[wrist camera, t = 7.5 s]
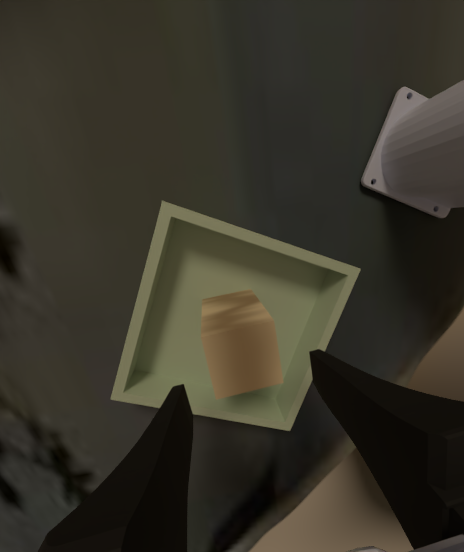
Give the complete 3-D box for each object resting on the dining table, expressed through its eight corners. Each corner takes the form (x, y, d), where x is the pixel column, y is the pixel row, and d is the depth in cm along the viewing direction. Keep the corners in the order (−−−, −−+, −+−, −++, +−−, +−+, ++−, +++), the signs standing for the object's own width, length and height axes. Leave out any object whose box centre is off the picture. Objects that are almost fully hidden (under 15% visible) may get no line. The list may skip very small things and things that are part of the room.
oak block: (250, 288, 20) (274, 320, 14) (258, 333, 21) (283, 382, 15) (202, 299, 20) (200, 337, 13) (212, 343, 21) (216, 399, 14)
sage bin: (336, 262, 21) (360, 269, 18) (277, 402, 24) (289, 431, 21) (170, 205, 19) (162, 200, 15) (125, 371, 21) (110, 399, 18)
